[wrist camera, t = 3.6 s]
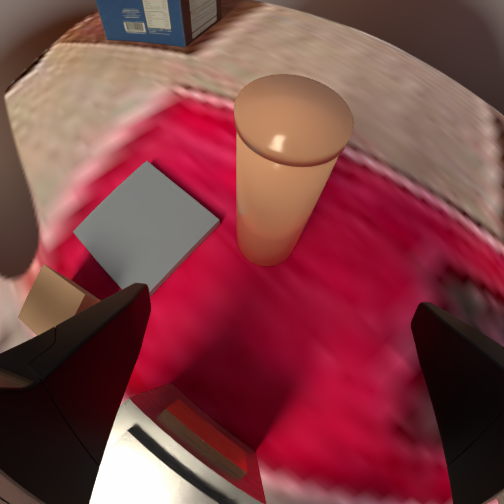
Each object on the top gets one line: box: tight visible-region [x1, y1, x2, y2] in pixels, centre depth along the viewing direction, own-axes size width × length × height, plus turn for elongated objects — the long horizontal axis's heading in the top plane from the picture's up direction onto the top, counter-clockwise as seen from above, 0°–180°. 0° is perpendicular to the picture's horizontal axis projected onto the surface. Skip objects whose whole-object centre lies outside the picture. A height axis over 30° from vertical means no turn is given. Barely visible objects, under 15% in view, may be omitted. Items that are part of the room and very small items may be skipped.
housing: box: [90, 383, 266, 504], centre depth 14 cm, size 8×8×10 cm
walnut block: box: [18, 265, 101, 336], centre depth 19 cm, size 4×4×4 cm
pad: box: [73, 161, 220, 297], centre depth 23 cm, size 9×9×1 cm
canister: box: [234, 74, 354, 266], centre depth 17 cm, size 5×5×14 cm
